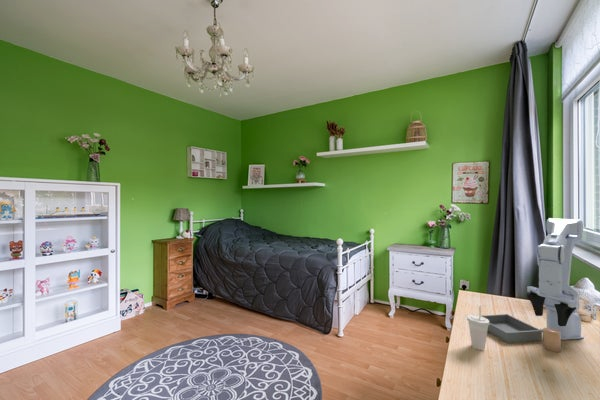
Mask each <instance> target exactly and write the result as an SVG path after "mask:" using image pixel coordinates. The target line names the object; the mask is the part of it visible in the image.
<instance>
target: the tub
mask: <svg viewBox="0 0 600 400" xmlns="http://www.w3.org/2000/svg"><path fill="white" fill-rule="evenodd" d="M481 316H482V317H484V318H487V319H488V320H489V323H490V324H489V325H488V330H487V333H489V334H491V335H492V336H493V337H496V338H498V339H500V340H501V341H503V342H504V343H506V344H511V343H524V342H525V343H526V342H537V341H540V342H541V341H543V331H542V330H540V328H537V327H536V326H534V325H531V324H529V323H527V322H524V321H523V320H520V319H519V318H516V317H514V316H513V315H510V314H508V313H503V314H501V313H500V314H487V315H486V314H485V315H481Z"/></svg>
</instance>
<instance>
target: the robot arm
mask: <svg viewBox="0 0 600 400" xmlns="http://www.w3.org/2000/svg"><path fill="white" fill-rule="evenodd" d="M583 222H584V221H583V220H582V219H580V218H578V219H577V218H576V219H573V218H572V219H571V218H552V217H548V219H546V226H545V228H546V229H545V230H546V232H547V235H545V237H544V240H543V242H542V243H541V244H540V245H537V246H536V251H535V253H536V258H537V262H536V263H537V266H538V287H536V286H527V287H526V289H527V290H526V292H527V294H526V297H527V298H528V299H529V302H530V304H531V305H532V307H533V313H534V315H535V317H542V316H543V315H544V309H546V328H552V329H555V330H558V331H559V332H561V340H562V341H563V340H574V339H575V340H577V339H585V337H584V336H583V335H582V319H581V316H580V314H579V309H580V294H579V291H577V290H576V289H575V288H573V287H572V286H571V285H570V280H571V279H570V278H571V269H572V261H573V250H574V248H575V245H578V244H580V243H581V242H582V240H583V233H584V223H583ZM543 328H544V327H540V328H539V329H540V330H542V332H543Z"/></svg>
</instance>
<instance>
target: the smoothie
mask: <svg viewBox="0 0 600 400" xmlns="http://www.w3.org/2000/svg"><path fill="white" fill-rule="evenodd" d="M482 316H483V315H482V307H481V305H478V315H475V314H469V315H467V317H466V321H468V328H469V335H470V341H471V347H472V348H474V349H475V350H479V351H484V350H485V349H486V342H487V336H488V331H487V330H488V325H489V324H490V323H489V320H488V319H487V318H484V317H482Z"/></svg>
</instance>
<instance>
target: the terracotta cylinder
mask: <svg viewBox="0 0 600 400" xmlns="http://www.w3.org/2000/svg"><path fill="white" fill-rule="evenodd" d="M542 328H543V331H542V347H543V348H544V349H546V350H547V351H551V352H554V353H560V352H561V348H562V347H561V346H562V345H561V343H562V341H561V332H559V331H558V330H555V329H552V328H547V327H542Z"/></svg>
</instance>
